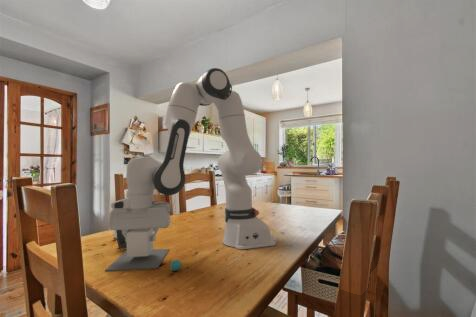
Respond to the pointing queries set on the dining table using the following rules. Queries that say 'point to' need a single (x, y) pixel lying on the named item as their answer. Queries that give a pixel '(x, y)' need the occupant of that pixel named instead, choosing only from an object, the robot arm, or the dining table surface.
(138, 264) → the mat
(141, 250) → the white upright block
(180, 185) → the robot arm
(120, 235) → the beverage cup
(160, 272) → the dining table surface
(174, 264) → the marble
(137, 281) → the dining table surface
